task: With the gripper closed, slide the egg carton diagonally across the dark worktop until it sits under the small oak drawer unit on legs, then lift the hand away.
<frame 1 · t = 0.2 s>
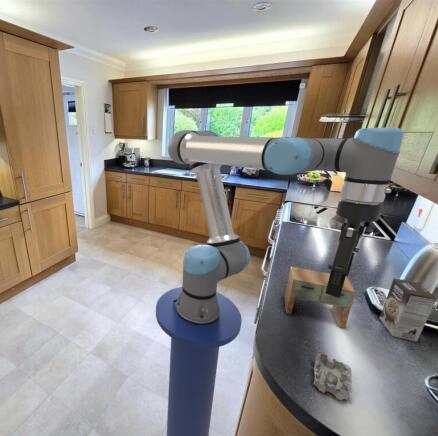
hand: (337, 283, 61), 25 cm above the worktop, tool pointing down, fingers open, 13 cm apart
coffee box: (396, 330, 80), on the worktop
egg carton: (330, 381, 62), on the worktop
drawer unit: (311, 311, 88), on the worktop
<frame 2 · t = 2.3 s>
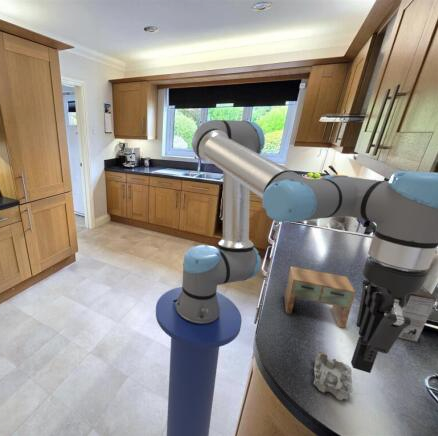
hand: (360, 367, 49), 15 cm above the worktop, tool pointing down, fingers closed
nothing on the worktop moved.
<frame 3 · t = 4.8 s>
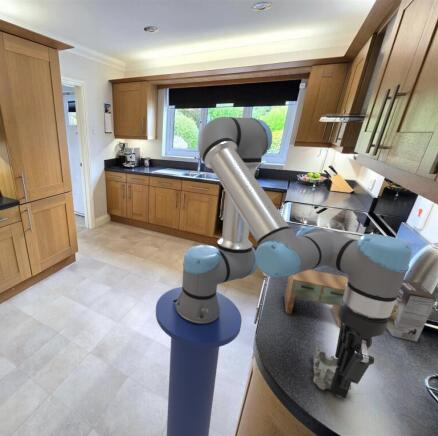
hand: (337, 392, 57), 2 cm above the worktop, tool pointing down, fingers closed
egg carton: (329, 378, 63), on the worktop, touching gripper
everything else where it was.
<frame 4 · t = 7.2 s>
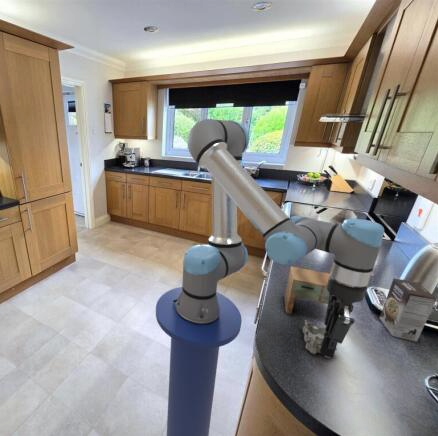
hand: (326, 354, 68), 2 cm above the worktop, tool pointing down, fingers closed
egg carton: (317, 344, 74), on the worktop, touching gripper
everything else where it was.
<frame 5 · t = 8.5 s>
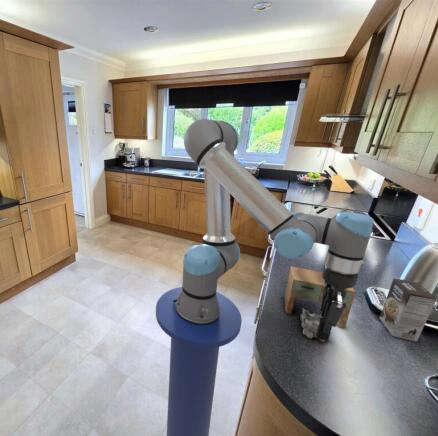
hand: (321, 338, 73), 2 cm above the worktop, tool pointing down, fingers closed
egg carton: (313, 329, 79), on the worktop, touching gripper
everything else where it was.
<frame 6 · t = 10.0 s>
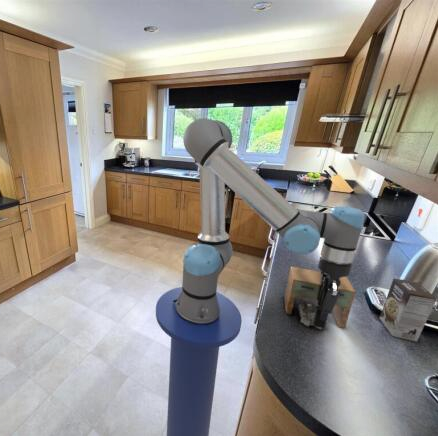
hand: (318, 325, 78), 2 cm above the worktop, tool pointing down, fingers closed
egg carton: (310, 318, 84), on the worktop
everything else where it was.
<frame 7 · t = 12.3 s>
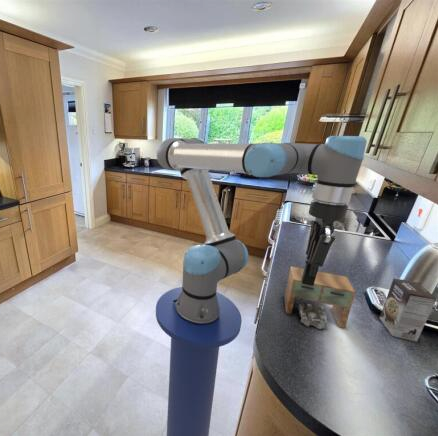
hand: (307, 283, 67), 21 cm above the worktop, tool pointing down, fingers closed
nothing on the worktop moved.
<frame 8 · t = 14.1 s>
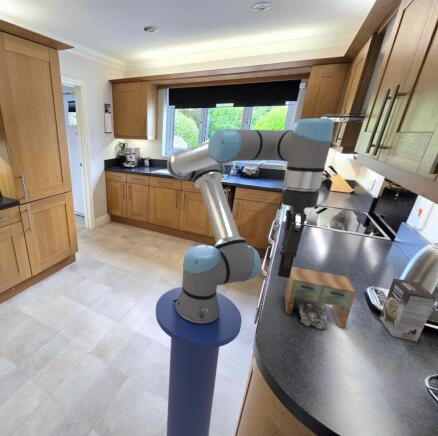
hand: (283, 275, 65), 24 cm above the worktop, tool pointing down, fingers closed
nothing on the worktop moved.
at the end: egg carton inside the target area on the drawer unit (1.0 cm from its centre), point 0.0 cm above the drawer unit's base; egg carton moved 25.1 cm from its start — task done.
